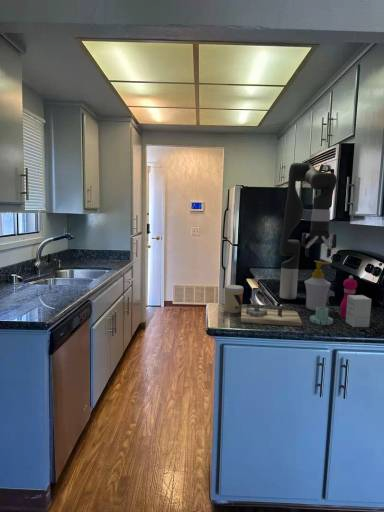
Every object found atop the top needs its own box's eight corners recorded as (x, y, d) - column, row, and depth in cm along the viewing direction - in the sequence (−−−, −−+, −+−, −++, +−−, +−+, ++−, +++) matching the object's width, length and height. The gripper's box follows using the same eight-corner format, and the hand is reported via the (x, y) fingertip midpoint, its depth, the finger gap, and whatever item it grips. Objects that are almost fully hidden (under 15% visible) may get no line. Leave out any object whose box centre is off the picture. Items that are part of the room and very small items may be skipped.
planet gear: (308, 317, 163) (309, 305, 163) (329, 318, 162) (330, 306, 161) (312, 324, 154) (313, 310, 153) (334, 325, 153) (336, 312, 152)
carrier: (241, 311, 170) (241, 298, 169) (296, 315, 166) (297, 302, 166) (240, 322, 155) (241, 307, 154) (301, 326, 151) (302, 311, 150)
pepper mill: (346, 319, 161) (349, 277, 159) (335, 315, 168) (339, 274, 166) (359, 318, 163) (363, 276, 161) (348, 314, 170) (352, 273, 167)
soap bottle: (320, 314, 169) (324, 264, 166) (297, 308, 178) (300, 260, 175) (333, 309, 177) (337, 261, 174) (310, 304, 187) (313, 258, 183)
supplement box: (360, 322, 159) (363, 294, 157) (369, 327, 151) (372, 299, 150) (344, 321, 158) (347, 294, 157) (352, 327, 151) (355, 298, 149)
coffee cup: (236, 314, 165) (237, 289, 164) (219, 310, 171) (220, 286, 169) (246, 310, 173) (247, 286, 171) (229, 306, 178) (230, 283, 177)
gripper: (335, 220, 153) (332, 256, 156) (302, 219, 156) (299, 255, 158) (339, 220, 146) (336, 259, 148) (304, 219, 148) (301, 257, 151)
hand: (317, 257), depth 153 cm, fingers open, 8 cm apart
